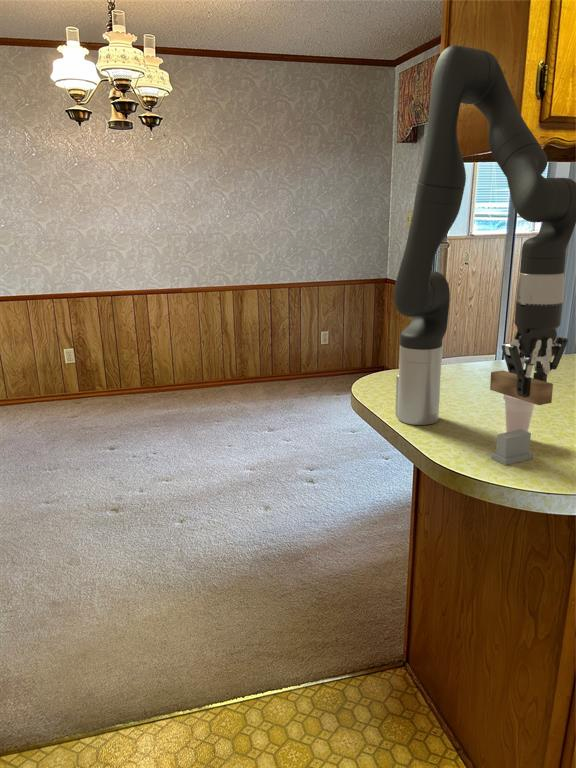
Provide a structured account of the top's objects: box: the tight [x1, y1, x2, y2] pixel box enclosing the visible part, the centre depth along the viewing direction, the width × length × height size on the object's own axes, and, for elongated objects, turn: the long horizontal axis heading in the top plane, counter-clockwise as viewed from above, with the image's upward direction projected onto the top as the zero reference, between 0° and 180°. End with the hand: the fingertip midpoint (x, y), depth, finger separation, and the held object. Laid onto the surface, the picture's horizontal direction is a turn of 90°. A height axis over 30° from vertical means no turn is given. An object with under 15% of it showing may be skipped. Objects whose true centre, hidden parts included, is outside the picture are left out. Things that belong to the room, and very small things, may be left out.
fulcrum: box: [490, 429, 534, 466], centre depth 115 cm, size 4×7×5 cm, turn 115°
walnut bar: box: [489, 369, 554, 406], centre depth 111 cm, size 12×3×4 cm, turn 25°
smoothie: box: [502, 394, 535, 433], centre depth 123 cm, size 6×6×14 cm
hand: (530, 394), depth 109 cm, fingers closed on walnut bar, 3 cm apart
